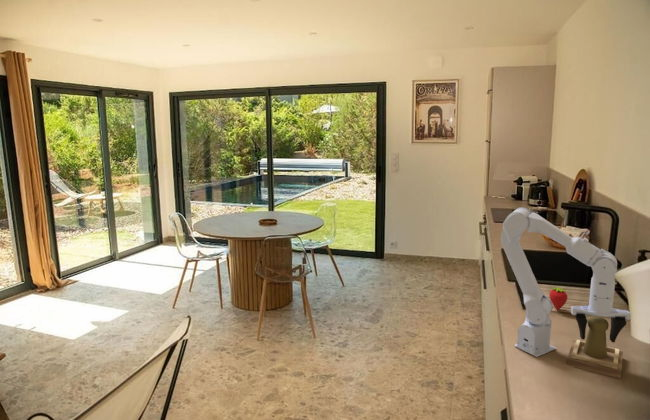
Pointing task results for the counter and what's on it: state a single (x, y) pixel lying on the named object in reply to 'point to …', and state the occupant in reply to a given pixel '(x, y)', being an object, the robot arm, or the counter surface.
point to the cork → (596, 338)
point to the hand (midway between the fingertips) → (597, 339)
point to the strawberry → (558, 297)
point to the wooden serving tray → (596, 360)
